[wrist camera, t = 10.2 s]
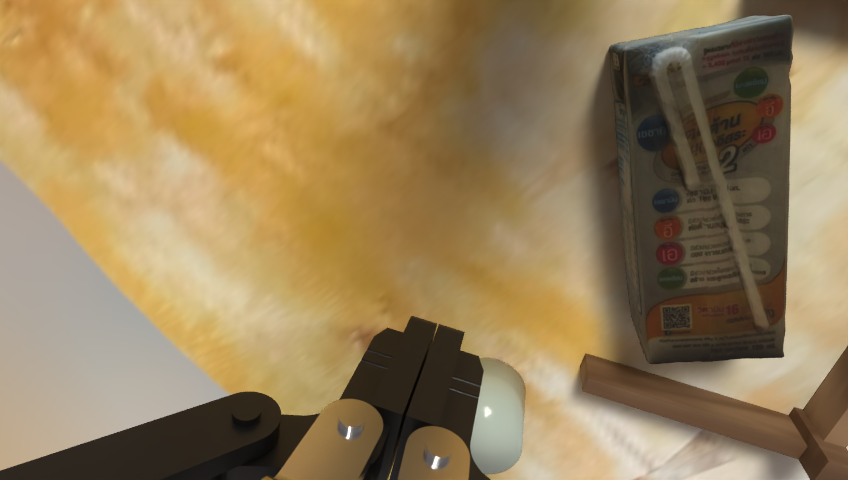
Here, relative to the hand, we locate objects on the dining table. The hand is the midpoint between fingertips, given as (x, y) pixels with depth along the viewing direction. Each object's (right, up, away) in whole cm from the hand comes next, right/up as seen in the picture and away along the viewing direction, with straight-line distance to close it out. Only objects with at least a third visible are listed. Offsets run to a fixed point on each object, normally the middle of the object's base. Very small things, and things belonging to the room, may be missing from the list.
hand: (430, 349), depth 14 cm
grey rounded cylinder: (+5, -9, +28) cm, 30 cm away
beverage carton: (+16, +7, +19) cm, 26 cm away
